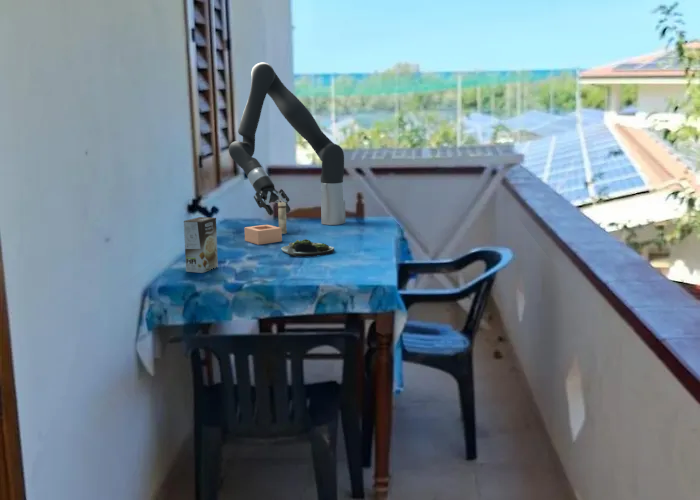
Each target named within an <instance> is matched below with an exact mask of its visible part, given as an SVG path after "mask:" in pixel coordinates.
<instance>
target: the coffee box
mask: <svg viewBox="0 0 700 500" xmlns="http://www.w3.org/2000/svg"><path fill="white" fill-rule="evenodd" d="M183 227H184V228H183V234H184V254H185V255H184V257H185V272H188V273H199V274H204V273H206V272H209V271H212V270H214V269H217V268H218V267H219V265H218V264H219V262H218V237H217V236H218V234H217V232H218V231H217V217H209V216H207V217H206V216H202V217H201V216H199V217H194V218H190V219H187V220H184V221H183ZM216 267H217V268H216ZM213 268H214V269H213ZM211 269H212V270H211Z"/></svg>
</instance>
